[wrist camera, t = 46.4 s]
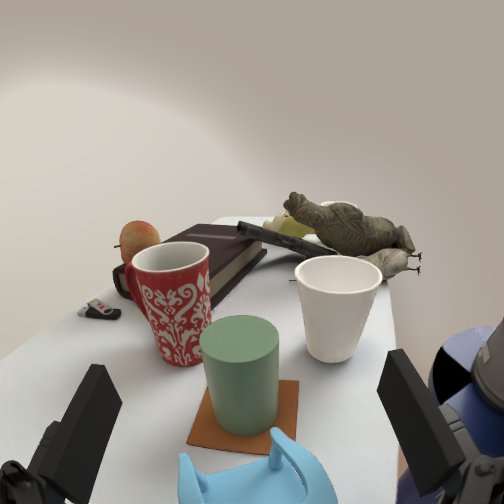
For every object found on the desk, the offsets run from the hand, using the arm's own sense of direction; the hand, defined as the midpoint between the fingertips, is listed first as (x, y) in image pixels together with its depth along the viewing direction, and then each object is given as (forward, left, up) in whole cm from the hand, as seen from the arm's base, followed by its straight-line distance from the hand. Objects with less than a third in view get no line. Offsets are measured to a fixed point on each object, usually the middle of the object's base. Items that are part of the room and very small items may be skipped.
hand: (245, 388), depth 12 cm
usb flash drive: (+31, -26, -14) cm, 43 cm away
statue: (-26, -53, -13) cm, 61 cm away
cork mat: (+2, -10, -15) cm, 18 cm away
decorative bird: (-26, -41, -12) cm, 50 cm away
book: (+18, -43, -15) cm, 49 cm away
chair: (0, +3, -15) cm, 15 cm away
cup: (-7, -21, -15) cm, 26 cm away
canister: (+3, -10, -15) cm, 18 cm away
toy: (+6, -68, -13) cm, 69 cm away
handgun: (-4, -42, -10) cm, 43 cm away
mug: (+14, -20, -15) cm, 28 cm away
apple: (+21, -35, -6) cm, 41 cm away
